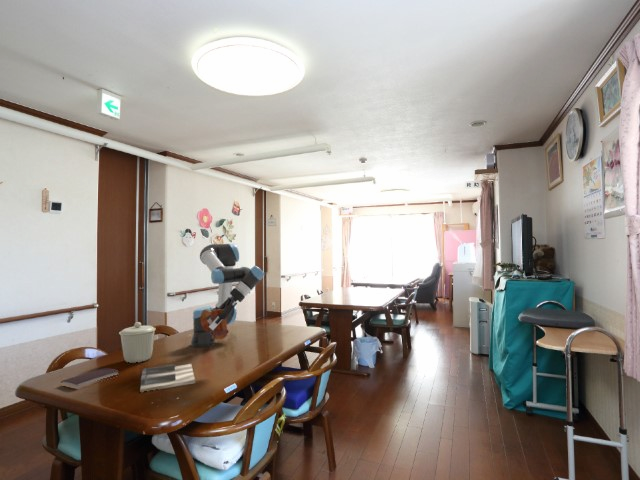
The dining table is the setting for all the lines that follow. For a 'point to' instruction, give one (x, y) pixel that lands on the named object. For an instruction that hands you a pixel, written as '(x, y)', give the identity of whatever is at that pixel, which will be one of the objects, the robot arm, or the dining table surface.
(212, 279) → the robot arm
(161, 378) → the notched board
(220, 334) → the mug
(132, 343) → the canister
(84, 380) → the book
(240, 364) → the dining table surface
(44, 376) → the dining table surface
